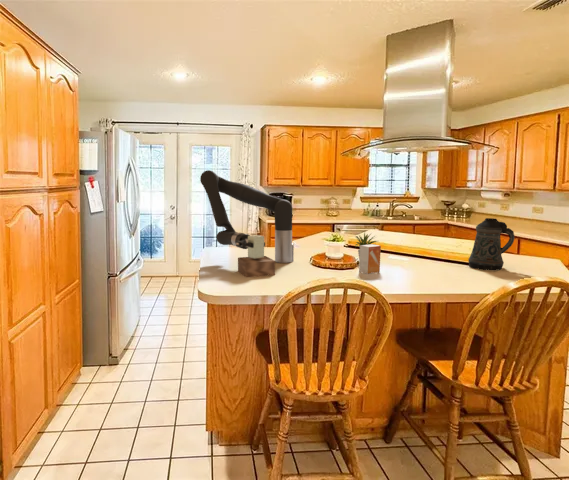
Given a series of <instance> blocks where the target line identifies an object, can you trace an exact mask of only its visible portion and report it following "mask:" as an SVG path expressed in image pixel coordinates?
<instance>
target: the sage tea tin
mask: <svg viewBox="0 0 569 480" xmlns="http://www.w3.org/2000/svg"><path fill="white" fill-rule="evenodd" d="M248 242H251V243H253V248H250V247H248V249H247V257H251V258H262V257H264V256H265V247H264V242H265V236H264V235H260V234H256V235H254V234H253V235H250V236H248Z"/></svg>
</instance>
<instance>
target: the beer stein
mask: <svg viewBox="0 0 569 480" xmlns="http://www.w3.org/2000/svg"><path fill="white" fill-rule="evenodd" d="M475 231H476V233H475V234H476V235H475V239H474V243H473V247H472V250H471V253H470V256H469V257H468V258H467V259H468V260H467V261H468V266H469V268H471V269H475V270H480V271H500V270H503V266H504V259H503V256H502V254H504V253H505V252H507V251H508V250H509V249H510V248H511V247H512V245H513V244H514V241H515V238H516V237H515V231H514V230H512V229H511V228H510V227H508V226H507V224H506V223H505V222H504V221H500V220H498V219H497V218H492V217H485V219H484V220H483V221H482V222H480V223H478V224H477V225H476V226H475ZM501 234H506V235H508V237H509V239H508V241H507V242H506V244H505V245H504V246H503V247H501V246H502V241H501Z"/></svg>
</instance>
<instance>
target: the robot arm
mask: <svg viewBox="0 0 569 480" xmlns="http://www.w3.org/2000/svg"><path fill="white" fill-rule="evenodd" d="M199 179H200V180H199V181H200V183H201V186H202V187H203V189H204V190H205V193H206V196H207V198H208V200H209V204H210V208H211V212H212V216H213V219H214V222H215V225H216V227H219V228H224V230H221V231H218V232H217V234H216V236H215V237H216V241H217V242H218V244H220V245H222V246H230V245H231V246H233V247H235V248H239V249H242V250H248V247H250V248H253V243H251V242H248V236H251V235H250V234H249V233H243V232H237V231H236V230H235V229H234V227H233V225H232V224H231V223H232V222H230V220H229V217H228V212H227V209H226V207H225V204H224V202H223V200H222V198H221V194H220V193H222V194H224V195H227V196H229V197H230V198H233V199H235V200H237V201H239V202H241V203H245V204H247V205H250V206H253V207H259V208H264V209H267V210H269V211H271V212H273V213H274V261H275V263H280V264H281V263H283V264H284V263H292V262H294V259H295V258H294V257H295V255H294V254H295V252H294V249H295V248H294V243H293V205H292V202H290V201H289V200H287V199H283V198H280V197H279V198H278V197H276V196H273V195H270V194H267V193H266V192H263V190H260V189H257V188H255V187H253V186H250V185H248V184H244V183H241V182H235V181H232V180H228V179H226V178H223V177H221V176H219V175H217V173H216V172H215V171H212V170H209V169H207V170H204V171H203V172H202V173H201V174H200V178H199ZM265 247H266V241H264V248H265Z"/></svg>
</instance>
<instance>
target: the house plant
mask: <svg viewBox="0 0 569 480" xmlns="http://www.w3.org/2000/svg"><path fill="white" fill-rule="evenodd" d="M371 235H372V233H370V234H369V235H368V233H366V232H364V233H363V237H362V236H361V235H358V236H356V235H355V238H356V239H357V241H356V242H355V243H356V244H355V245H354V246H355V248H356V247H359V248H360V245H370V244H374V243H375V244H374V245H376V242H378V240H373V239H374V238H376V237H378V236H377V235H376V234H375V235H374V236H372V237H371V238H369V237H370V236H371ZM357 252H358V260H359V259H360V249H358V251H357Z"/></svg>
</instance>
